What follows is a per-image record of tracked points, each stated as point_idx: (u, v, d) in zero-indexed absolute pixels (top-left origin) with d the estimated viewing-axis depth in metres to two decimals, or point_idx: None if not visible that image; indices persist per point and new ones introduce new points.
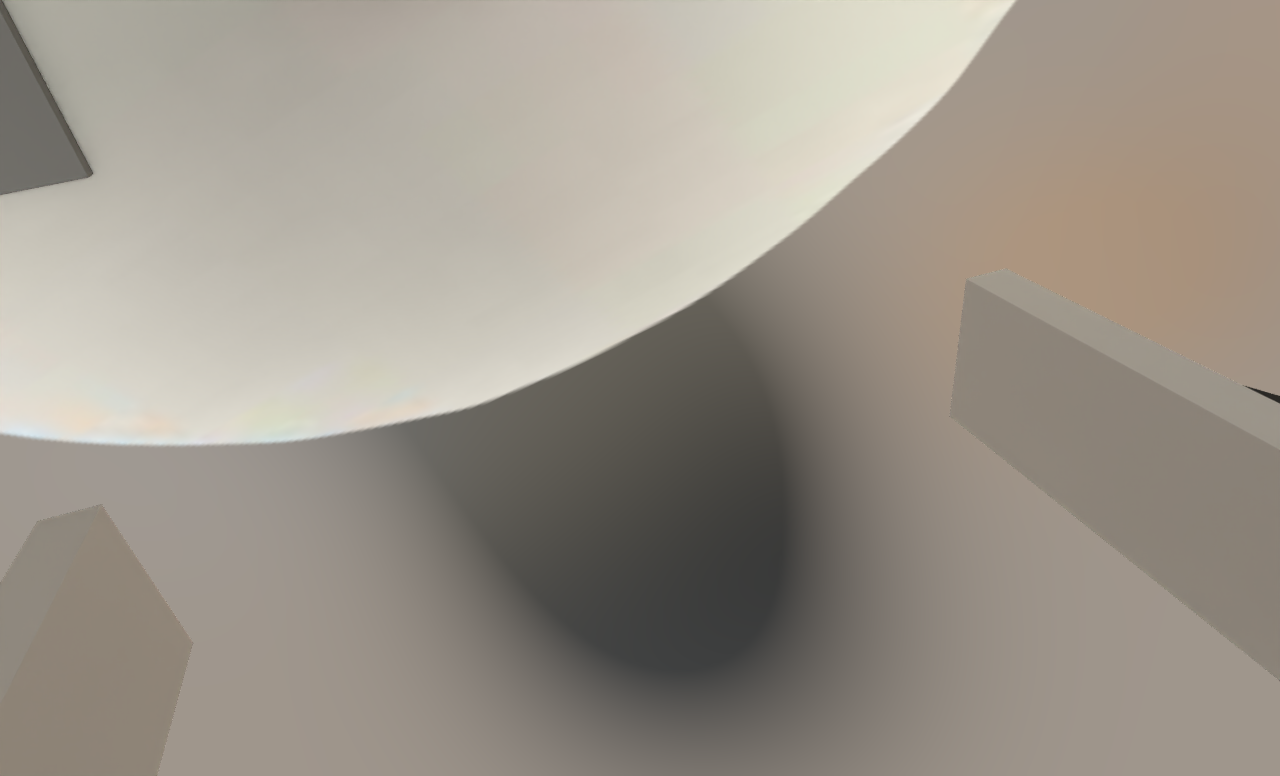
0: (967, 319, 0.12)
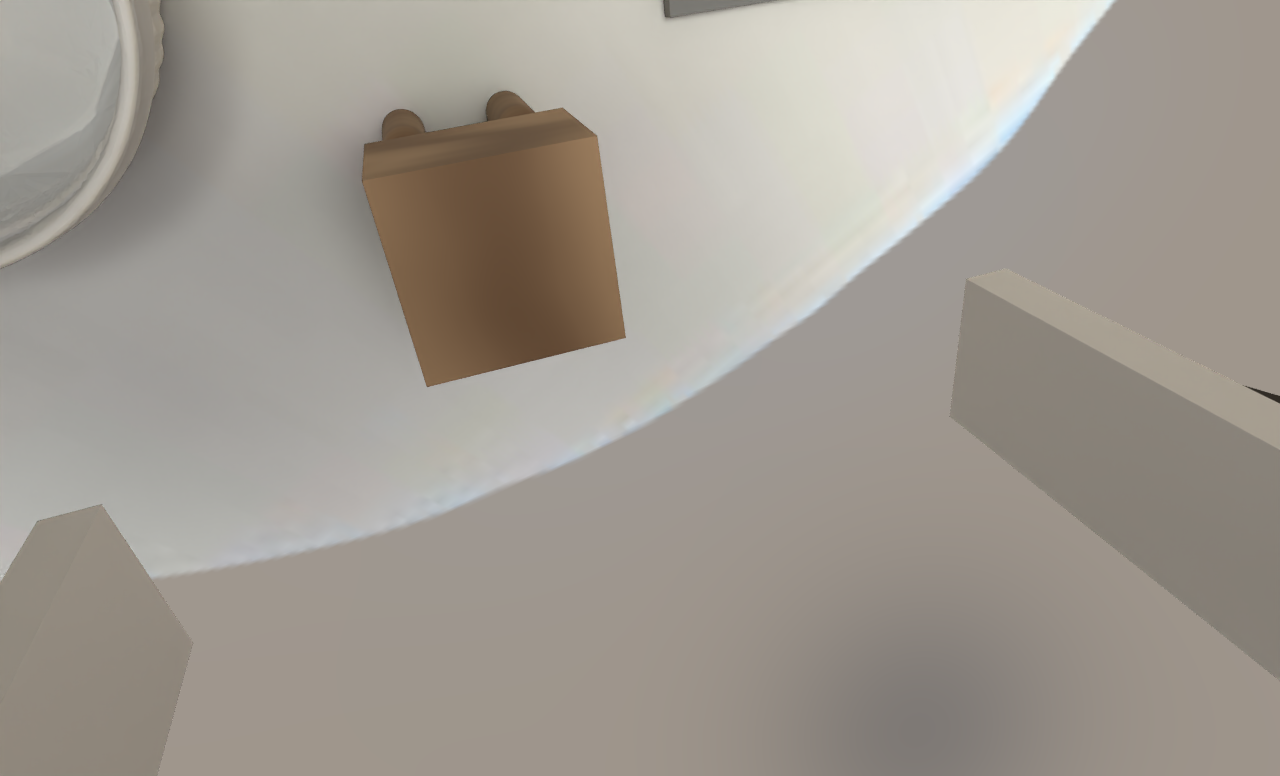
0: (967, 319, 0.12)
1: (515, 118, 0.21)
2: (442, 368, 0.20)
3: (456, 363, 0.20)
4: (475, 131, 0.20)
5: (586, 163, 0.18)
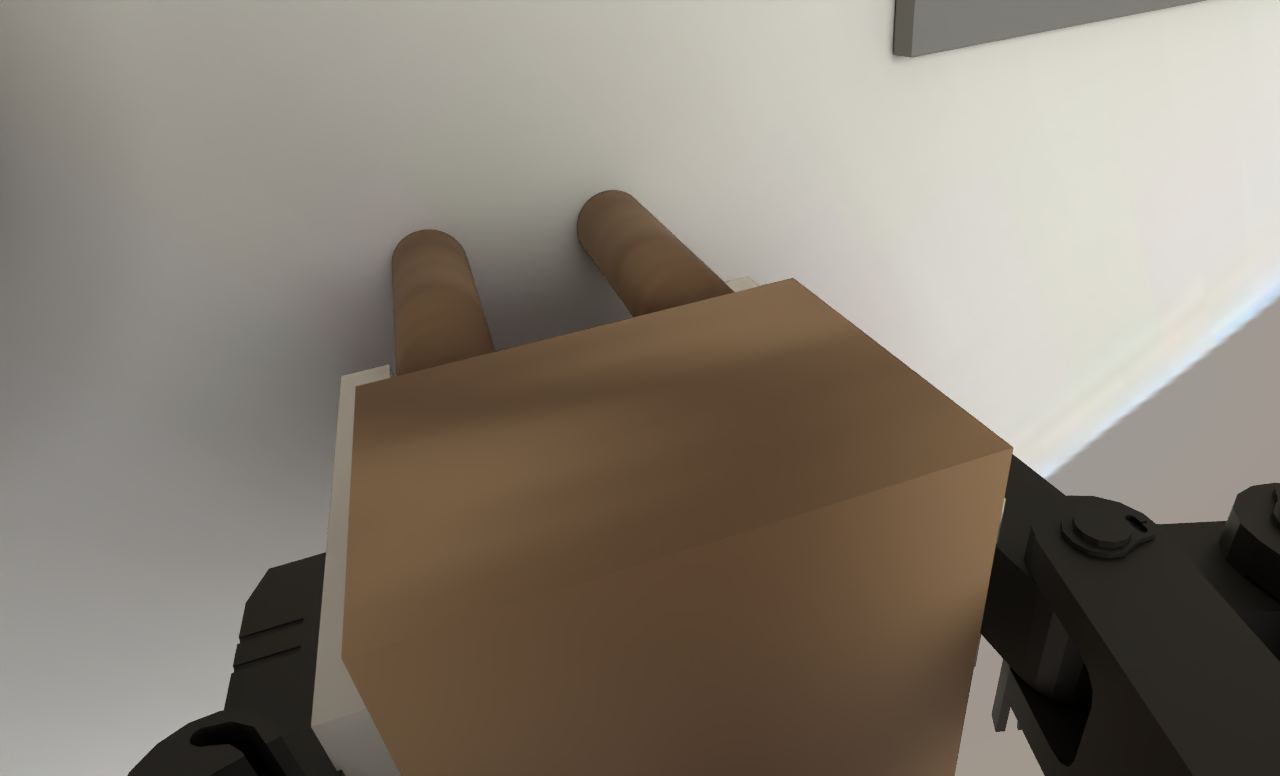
0: None
1: (699, 312, 0.09)
2: None
3: None
4: (621, 362, 0.08)
5: (969, 513, 0.06)
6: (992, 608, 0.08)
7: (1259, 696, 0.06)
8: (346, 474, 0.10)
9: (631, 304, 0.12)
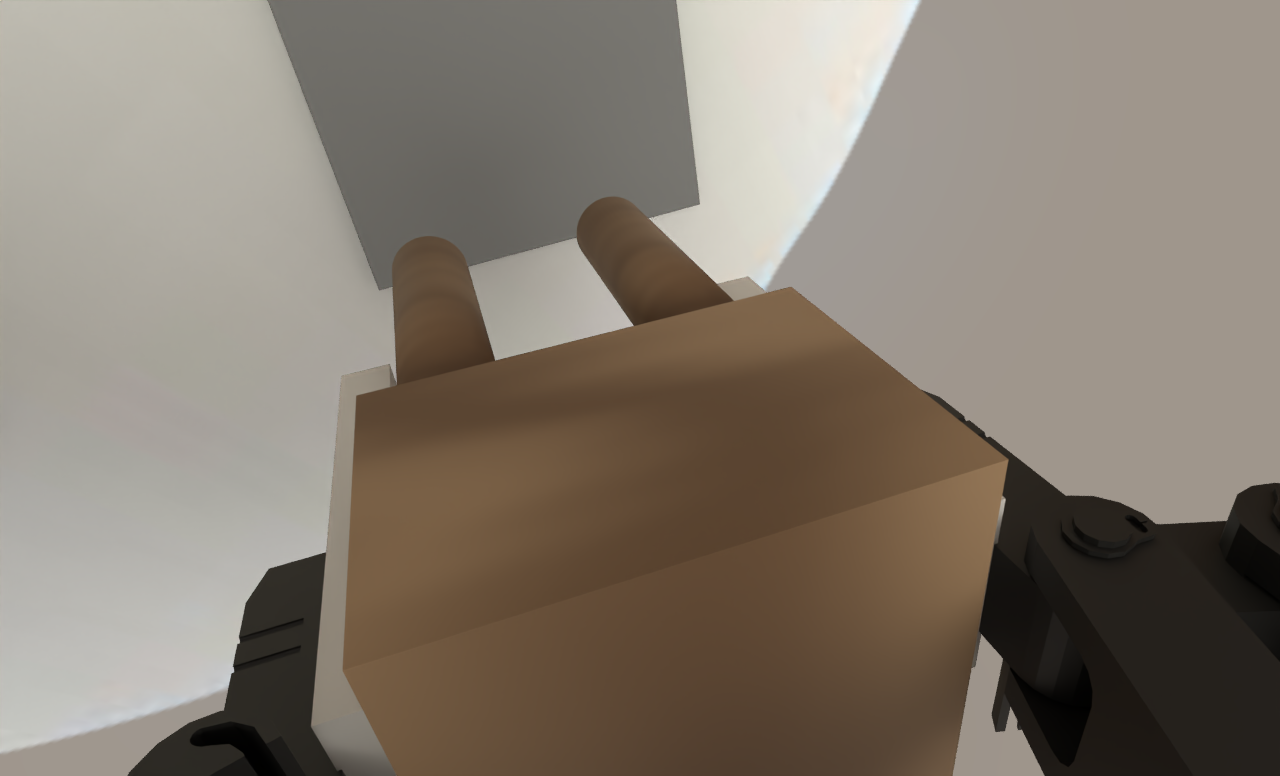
0: None
1: (697, 321, 0.09)
2: None
3: None
4: (620, 372, 0.08)
5: (964, 524, 0.07)
6: (992, 608, 0.08)
7: (1260, 696, 0.06)
8: (346, 474, 0.10)
9: (630, 311, 0.12)
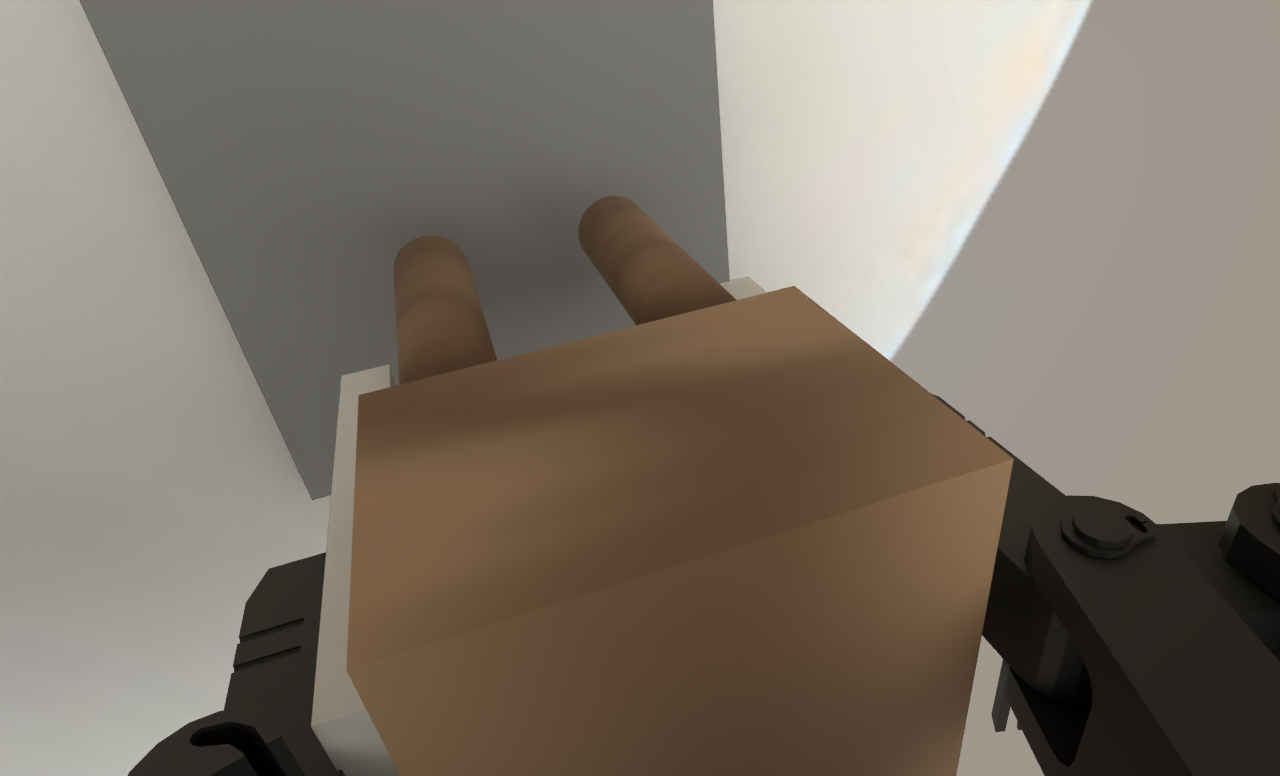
0: None
1: (700, 320, 0.09)
2: None
3: None
4: (623, 372, 0.08)
5: (969, 523, 0.07)
6: (991, 608, 0.08)
7: (1260, 696, 0.06)
8: (346, 474, 0.10)
9: (632, 311, 0.12)
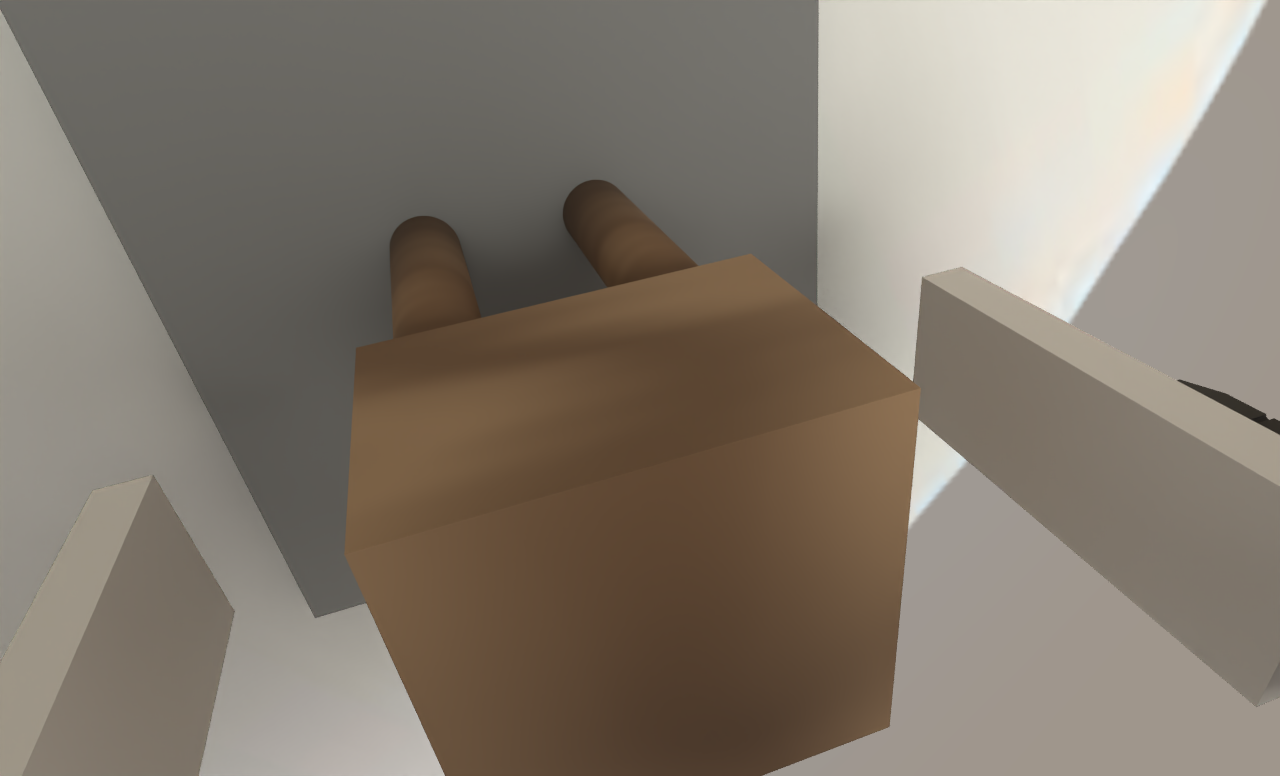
0: (924, 316, 0.12)
1: (664, 283, 0.10)
2: None
3: None
4: (592, 325, 0.09)
5: (885, 446, 0.08)
6: None
7: None
8: (23, 648, 0.08)
9: (609, 281, 0.13)
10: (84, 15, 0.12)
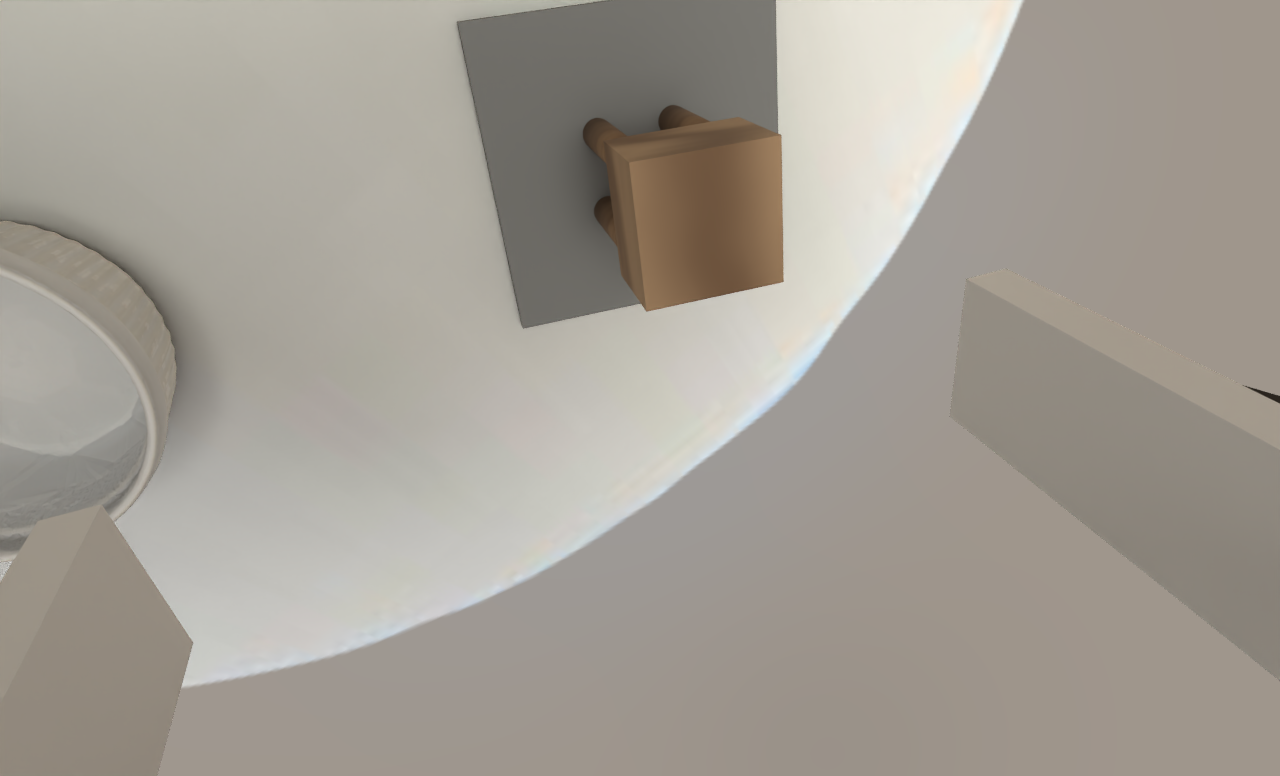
0: (967, 319, 0.12)
1: (707, 124, 0.29)
2: (658, 298, 0.28)
3: (668, 295, 0.28)
4: (683, 132, 0.28)
5: (772, 154, 0.26)
6: None
7: None
8: None
9: None
10: (485, 28, 0.31)
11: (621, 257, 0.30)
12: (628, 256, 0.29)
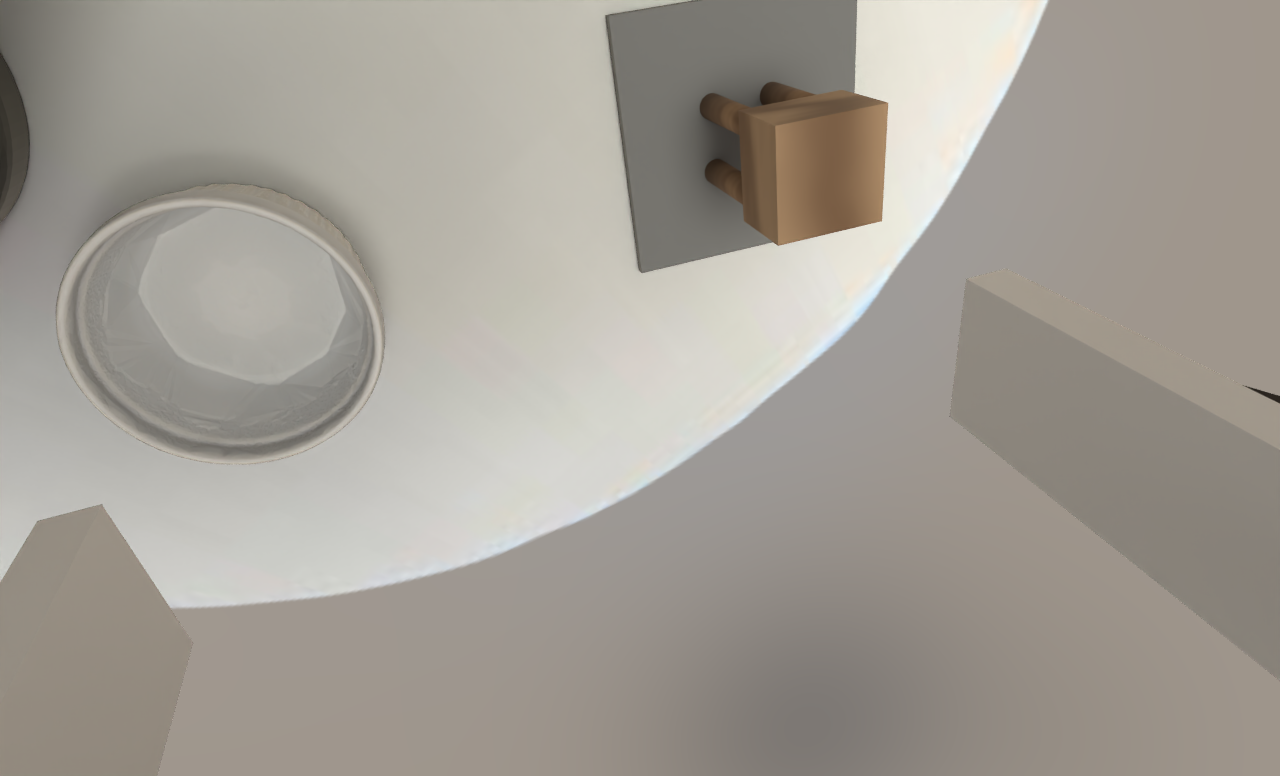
0: (967, 319, 0.12)
1: (818, 95, 0.36)
2: (788, 234, 0.35)
3: (795, 232, 0.35)
4: (803, 102, 0.35)
5: (880, 118, 0.34)
6: None
7: None
8: None
9: None
10: (629, 20, 0.38)
11: (747, 205, 0.37)
12: (758, 203, 0.36)
